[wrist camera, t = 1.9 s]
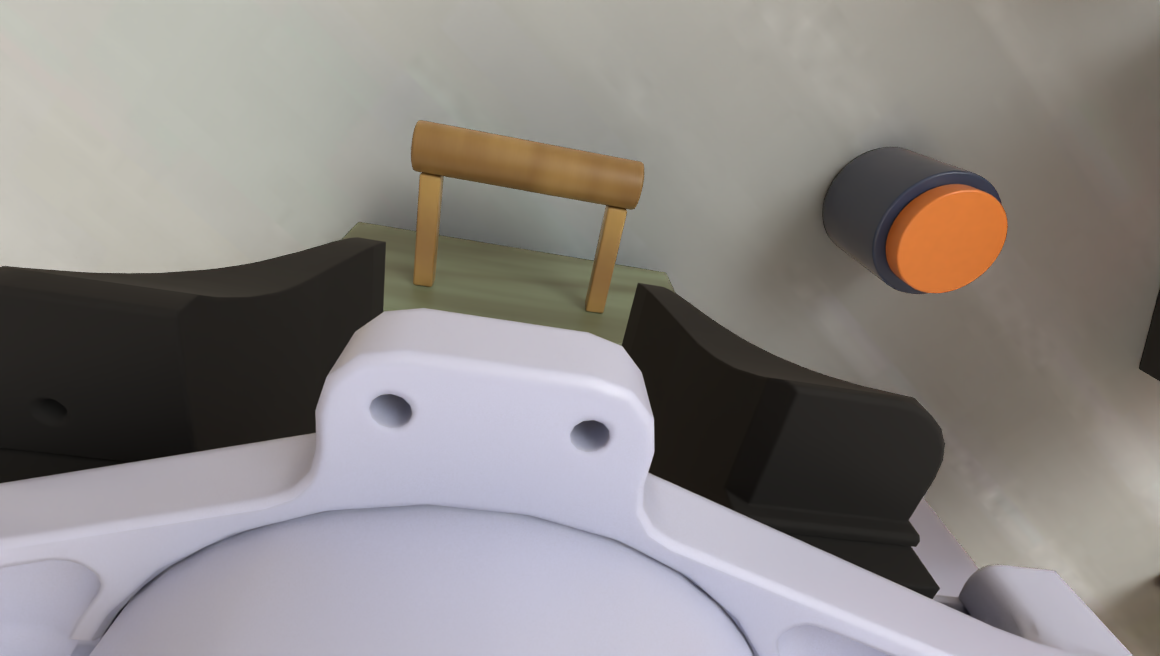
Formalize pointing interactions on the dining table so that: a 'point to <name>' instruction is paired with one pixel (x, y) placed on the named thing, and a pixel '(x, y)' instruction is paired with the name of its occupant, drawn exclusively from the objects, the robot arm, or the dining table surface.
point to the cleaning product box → (1153, 346)
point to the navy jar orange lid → (915, 220)
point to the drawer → (506, 274)
